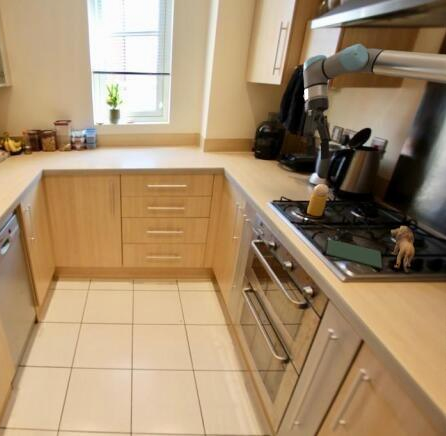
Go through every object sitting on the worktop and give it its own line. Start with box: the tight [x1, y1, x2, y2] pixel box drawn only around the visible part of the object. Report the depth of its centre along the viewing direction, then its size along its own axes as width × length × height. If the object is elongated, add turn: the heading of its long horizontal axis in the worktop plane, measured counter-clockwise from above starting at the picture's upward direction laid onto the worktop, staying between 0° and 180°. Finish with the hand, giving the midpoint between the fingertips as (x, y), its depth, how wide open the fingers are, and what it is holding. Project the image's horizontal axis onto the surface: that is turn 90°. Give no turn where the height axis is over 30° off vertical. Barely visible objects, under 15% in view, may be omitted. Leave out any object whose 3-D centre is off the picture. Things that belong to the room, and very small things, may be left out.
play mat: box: [325, 239, 383, 270], centre depth 99 cm, size 14×10×1 cm
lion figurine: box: [390, 225, 415, 273], centre depth 94 cm, size 15×5×9 cm, turn 156°
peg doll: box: [306, 183, 330, 217], centre depth 121 cm, size 5×5×12 cm
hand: (318, 157), depth 117 cm, fingers open, 13 cm apart
